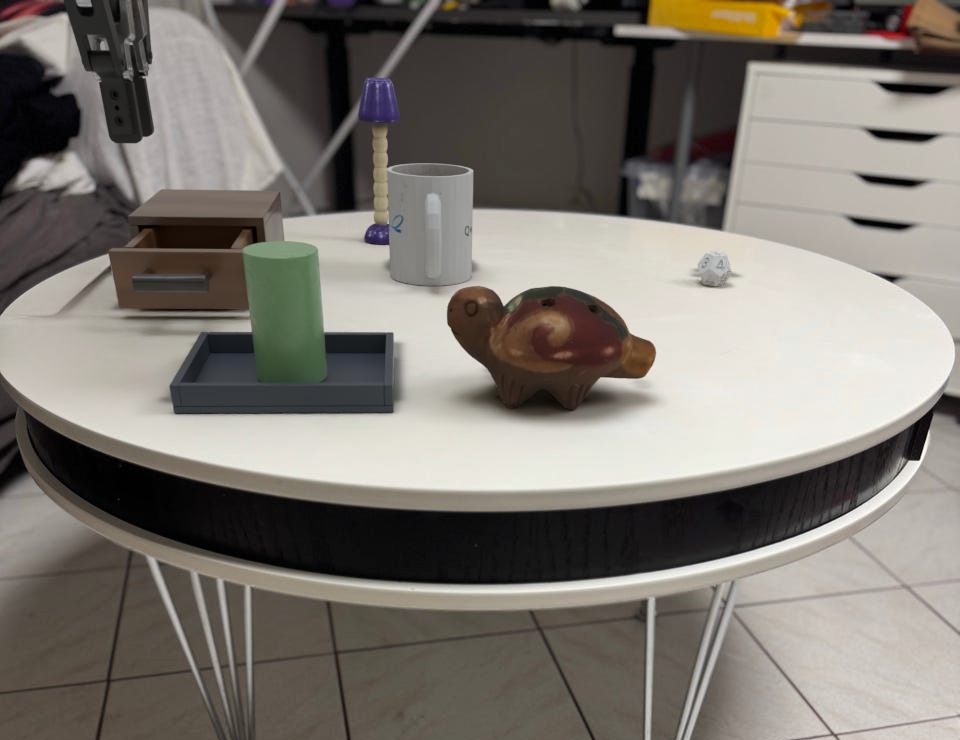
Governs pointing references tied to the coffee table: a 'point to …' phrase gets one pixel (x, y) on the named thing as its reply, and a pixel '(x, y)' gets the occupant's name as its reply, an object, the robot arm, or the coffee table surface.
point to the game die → (714, 268)
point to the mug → (430, 223)
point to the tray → (236, 389)
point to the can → (285, 311)
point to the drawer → (183, 268)
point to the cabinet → (213, 211)
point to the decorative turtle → (546, 342)
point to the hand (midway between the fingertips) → (133, 137)
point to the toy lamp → (379, 148)
